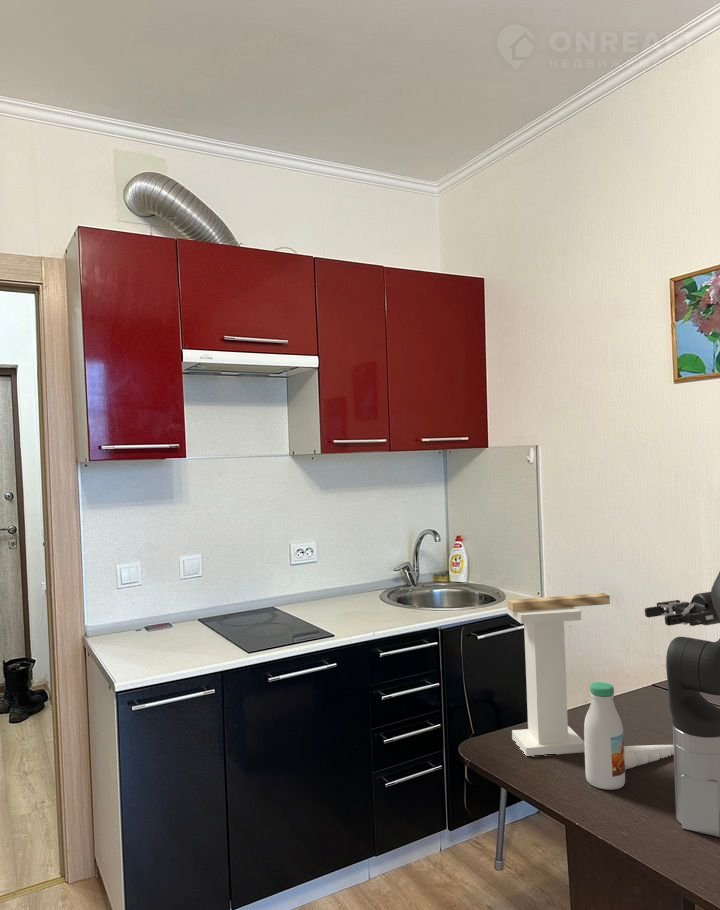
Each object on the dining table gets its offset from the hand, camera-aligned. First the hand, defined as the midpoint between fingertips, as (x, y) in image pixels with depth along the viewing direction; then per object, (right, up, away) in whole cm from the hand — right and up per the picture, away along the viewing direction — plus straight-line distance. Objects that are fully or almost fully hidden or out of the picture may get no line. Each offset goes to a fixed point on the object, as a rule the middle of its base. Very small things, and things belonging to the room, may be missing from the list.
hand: (655, 616), depth 163 cm
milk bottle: (-19, -29, -21) cm, 41 cm away
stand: (-26, -29, -3) cm, 39 cm away
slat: (-23, +3, -2) cm, 24 cm away
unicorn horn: (-6, -29, -12) cm, 32 cm away
